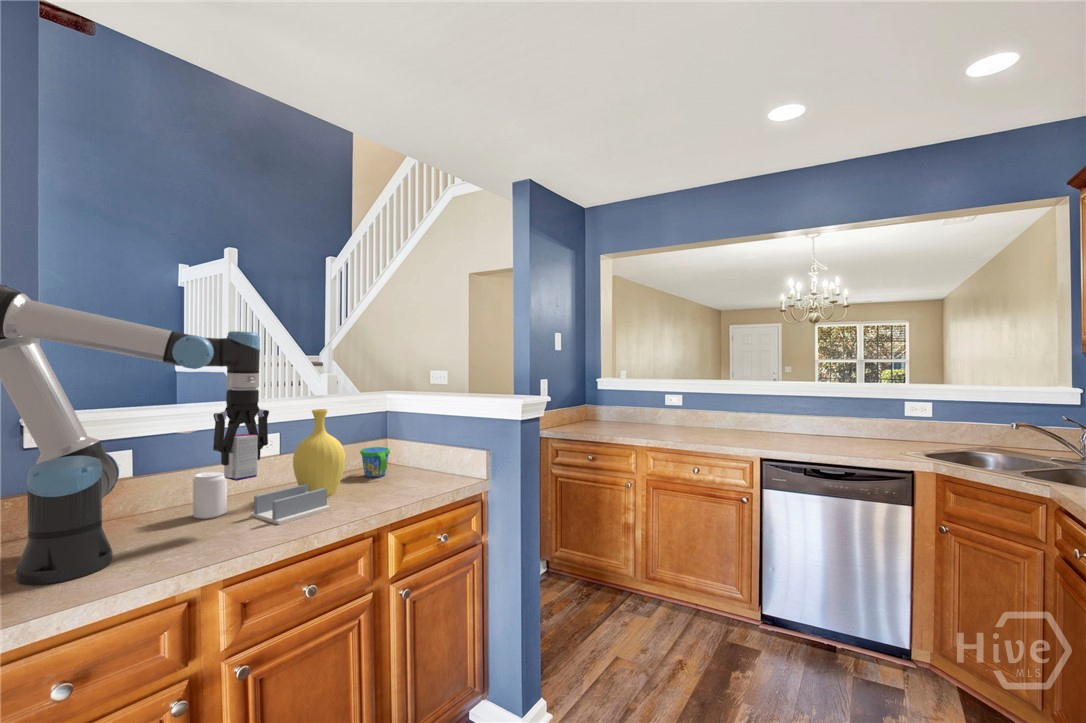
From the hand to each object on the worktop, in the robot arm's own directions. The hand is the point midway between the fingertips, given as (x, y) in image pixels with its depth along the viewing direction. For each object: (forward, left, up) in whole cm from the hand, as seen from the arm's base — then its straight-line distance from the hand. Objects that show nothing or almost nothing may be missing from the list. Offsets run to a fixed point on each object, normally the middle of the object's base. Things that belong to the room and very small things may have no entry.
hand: (240, 474), depth 137 cm
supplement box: (0, 0, -1) cm, 1 cm away
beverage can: (0, +17, -14) cm, 22 cm away
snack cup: (+58, +15, -14) cm, 62 cm away
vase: (+31, +11, -14) cm, 36 cm away
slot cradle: (+14, 0, -14) cm, 20 cm away
